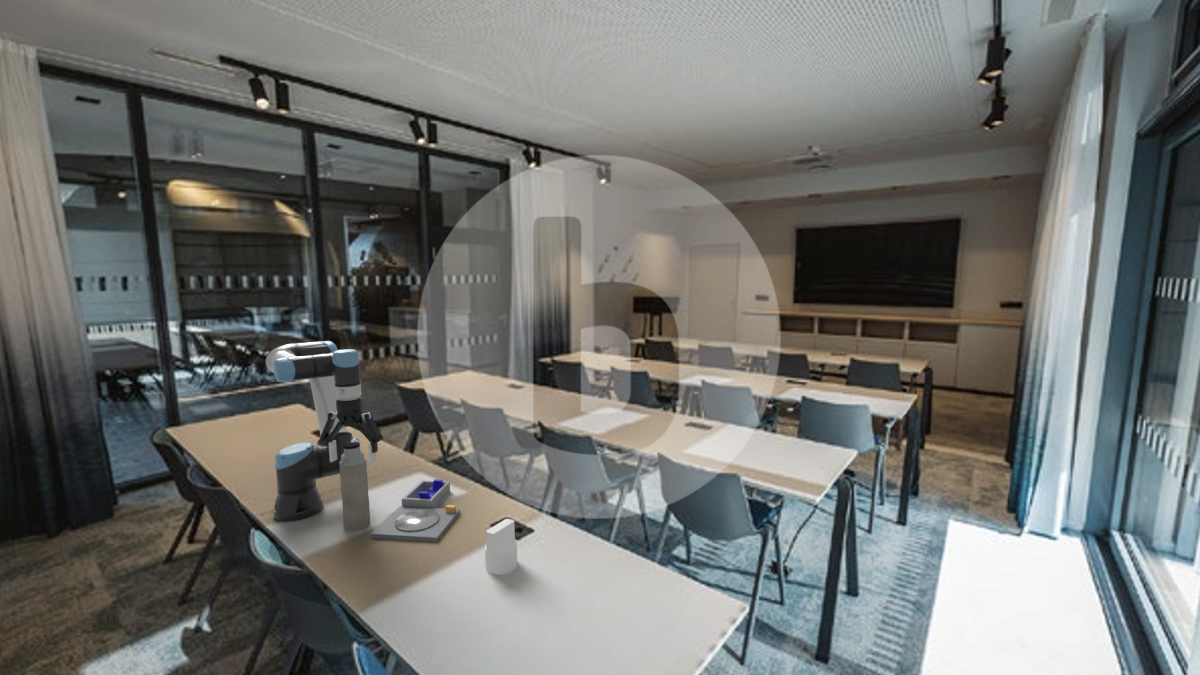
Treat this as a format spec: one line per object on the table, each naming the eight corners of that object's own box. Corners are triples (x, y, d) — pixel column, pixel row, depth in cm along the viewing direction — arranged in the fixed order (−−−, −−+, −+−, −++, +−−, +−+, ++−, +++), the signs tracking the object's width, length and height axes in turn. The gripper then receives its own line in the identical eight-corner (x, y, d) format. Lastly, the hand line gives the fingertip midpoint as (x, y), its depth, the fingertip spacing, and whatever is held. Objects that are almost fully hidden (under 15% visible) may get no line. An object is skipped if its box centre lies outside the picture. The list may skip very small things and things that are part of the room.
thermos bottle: (358, 517, 176) (353, 438, 172) (375, 522, 172) (370, 441, 169) (338, 527, 168) (332, 445, 165) (355, 533, 165) (349, 449, 161)
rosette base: (370, 538, 162) (369, 527, 162) (400, 510, 181) (399, 500, 180) (437, 542, 160) (436, 531, 159) (460, 513, 178) (459, 503, 178)
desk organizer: (402, 509, 181) (401, 498, 181) (422, 490, 197) (422, 480, 196) (431, 511, 180) (431, 500, 179) (450, 491, 196) (449, 481, 195)
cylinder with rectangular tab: (502, 578, 141) (501, 537, 139) (478, 568, 146) (477, 528, 144) (523, 562, 148) (522, 523, 147) (500, 553, 153) (499, 515, 152)
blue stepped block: (432, 494, 194) (431, 478, 194) (443, 494, 194) (442, 479, 193) (415, 508, 183) (415, 492, 182) (427, 509, 182) (426, 493, 181)
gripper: (304, 399, 162) (309, 464, 165) (379, 401, 159) (383, 467, 162) (320, 394, 170) (324, 456, 172) (391, 395, 167) (395, 458, 170)
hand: (353, 461), depth 167 cm, fingers open, 13 cm apart
